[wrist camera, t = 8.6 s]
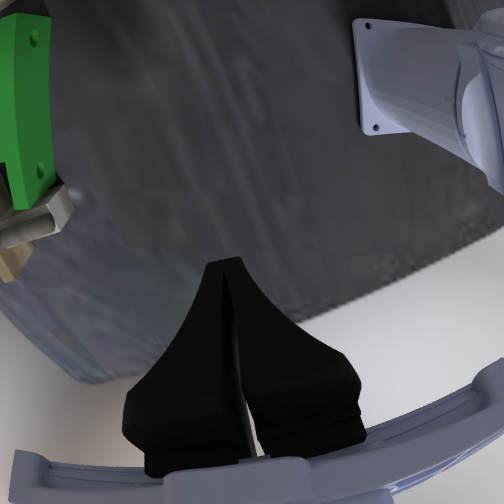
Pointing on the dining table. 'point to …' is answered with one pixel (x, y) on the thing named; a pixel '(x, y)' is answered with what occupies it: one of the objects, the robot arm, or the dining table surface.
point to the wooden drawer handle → (28, 221)
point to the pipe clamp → (25, 107)
